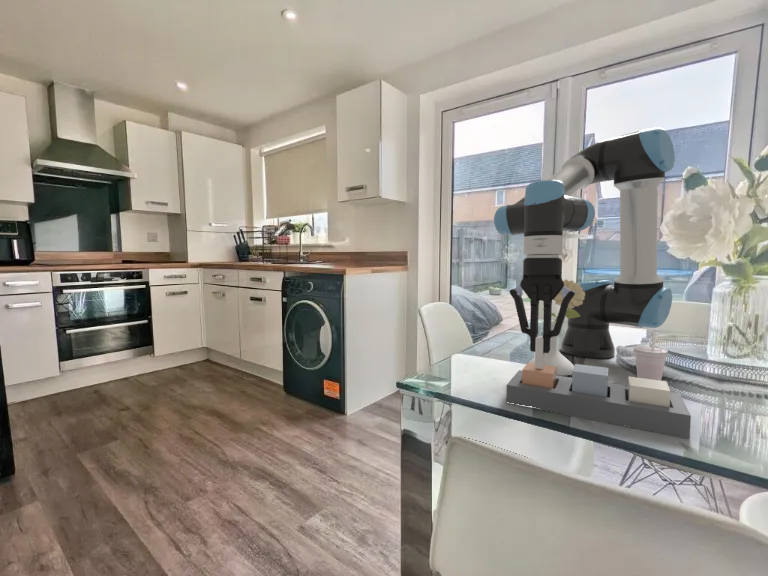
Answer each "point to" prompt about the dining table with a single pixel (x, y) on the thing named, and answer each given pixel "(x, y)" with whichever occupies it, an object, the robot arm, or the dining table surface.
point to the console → (603, 406)
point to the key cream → (648, 391)
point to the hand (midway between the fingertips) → (539, 366)
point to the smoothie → (650, 360)
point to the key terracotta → (539, 376)
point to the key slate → (590, 380)
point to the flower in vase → (554, 355)
